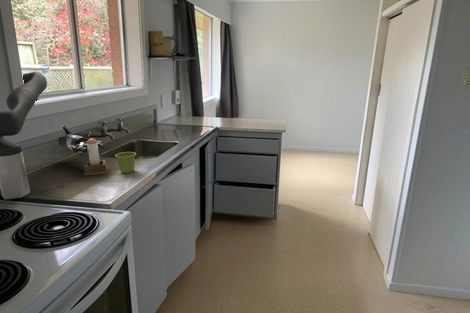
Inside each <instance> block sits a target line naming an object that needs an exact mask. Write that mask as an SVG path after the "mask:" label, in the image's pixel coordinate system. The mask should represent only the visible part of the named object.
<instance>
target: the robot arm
mask: <svg viewBox="0 0 470 313" xmlns="http://www.w3.org/2000/svg"><path fill="white" fill-rule="evenodd" d="M22 74H23V80H24V84H23V85H21V86H19V85H18V86H17V87H16V88H14V89H13V90H12V91H11V92H10V93H9V95H8V96H7V98H6V106H7V108H8V109H9V110H7V111H6V110H3V111H1V110H0V191H1V195H2V198H3V199H4V200H11V199H12V200H13V199H19V198H23V197H25V196H27V195H28V194H29V195H30V193H31V190H30V189H31V188H30V184H29V180H28V176H27V170H26V164H25V159H24V155H23V150H22V145H21V144H19V143H18V142H14V141H10V140H8V139H6V138H5V137H11V136H16V135H18V134H19V133H20V132H21V131H22V129H23V126H24V123H25V121H26V118H27V117H28V114H29V112H30V111H31V110H32V108H33V107H34V106H33V105H34V103H35V101H37V100H41V99H40V98H39V97H40V96H41V94H42V93H43V92H44V91H46V89H47V86H48V81H47V78H46V76H45V75H44V74H43V73H42V72H40V71H31V72H28V73H22ZM63 129H64V130H65V132H66V135H65V136H63V137H59V139H58V142H59V145H60V146H61V147H62V148H61V149H68V148H69V149H70V151H71V152H72V153H75V154H77V153H78V152H79V153H84V154H87V153H88V147H87V141H88V140H89V139H87V138H86V137H83V136H80V135H78V134H77V135H76V134H75V135H74V134H73V133H72V132H71V131H70V130H69V129H68V127H66V125H64V127H63ZM95 140H96V139H95ZM96 141H97V145H98V149H101V150H104V149H105V144H104V141H101V140H96Z"/></svg>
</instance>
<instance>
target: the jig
mask: <svg viewBox="0 0 470 313" xmlns="http://www.w3.org/2000/svg"><path fill="white" fill-rule="evenodd" d="M101 174H102V175H104V174H108V164H107V161H106V159H100V165H93V166H90V160H89V161H88V160H87V161H85V163H84V176H93V175H94V176H95V175H101Z"/></svg>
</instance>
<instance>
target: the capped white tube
mask: <svg viewBox="0 0 470 313" xmlns="http://www.w3.org/2000/svg"><path fill="white" fill-rule="evenodd" d="M97 141H98V140H97ZM97 141H96V139H95V138H92V137H91V138H89V139H88V141H87V147H88V150H87V153H88V157H89V161H90V166H93V165H100V160H101V159H100V153H99V148H98V145H97Z"/></svg>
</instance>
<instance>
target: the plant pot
mask: <svg viewBox="0 0 470 313" xmlns="http://www.w3.org/2000/svg"><path fill="white" fill-rule="evenodd" d="M136 155H137V153H136V152H134V151H125V152H124V151H122V152H118V153H116V154H115V158H116V160H117V162H118V166H119V170H120V173H122V174H131V173H132V172H135V161H136V160H135V158H136Z"/></svg>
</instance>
